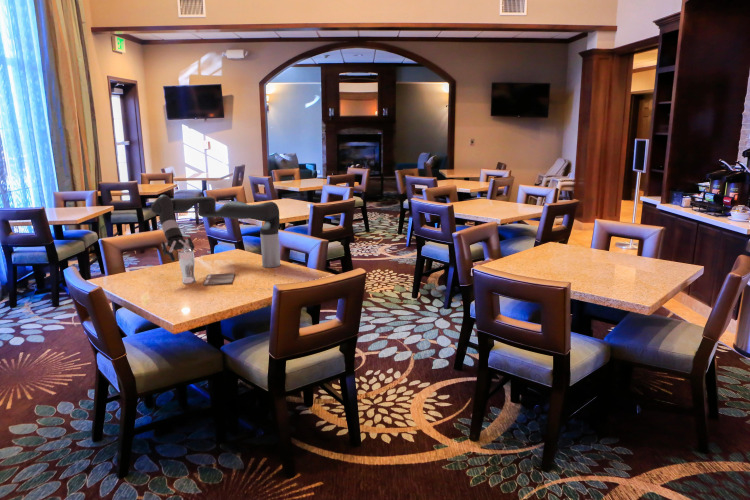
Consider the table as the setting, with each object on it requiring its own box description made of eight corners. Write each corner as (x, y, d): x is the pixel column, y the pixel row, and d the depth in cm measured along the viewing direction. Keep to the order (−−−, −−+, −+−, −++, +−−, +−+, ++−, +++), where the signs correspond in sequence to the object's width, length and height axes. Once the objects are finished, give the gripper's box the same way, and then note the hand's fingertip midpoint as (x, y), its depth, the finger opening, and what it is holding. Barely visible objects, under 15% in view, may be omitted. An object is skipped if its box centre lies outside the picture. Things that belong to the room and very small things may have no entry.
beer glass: (178, 283, 255) (174, 252, 252) (188, 279, 261) (185, 249, 258) (189, 284, 252) (186, 253, 249) (199, 280, 259) (196, 250, 255)
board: (207, 276, 266) (207, 274, 266) (234, 274, 268) (234, 272, 268) (202, 285, 250) (202, 283, 250) (231, 284, 252) (231, 282, 252)
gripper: (185, 233, 269) (195, 260, 263) (155, 238, 260) (166, 265, 255) (188, 225, 264) (199, 252, 258) (158, 228, 255) (168, 257, 249)
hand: (182, 258), depth 256 cm, fingers open, 8 cm apart
